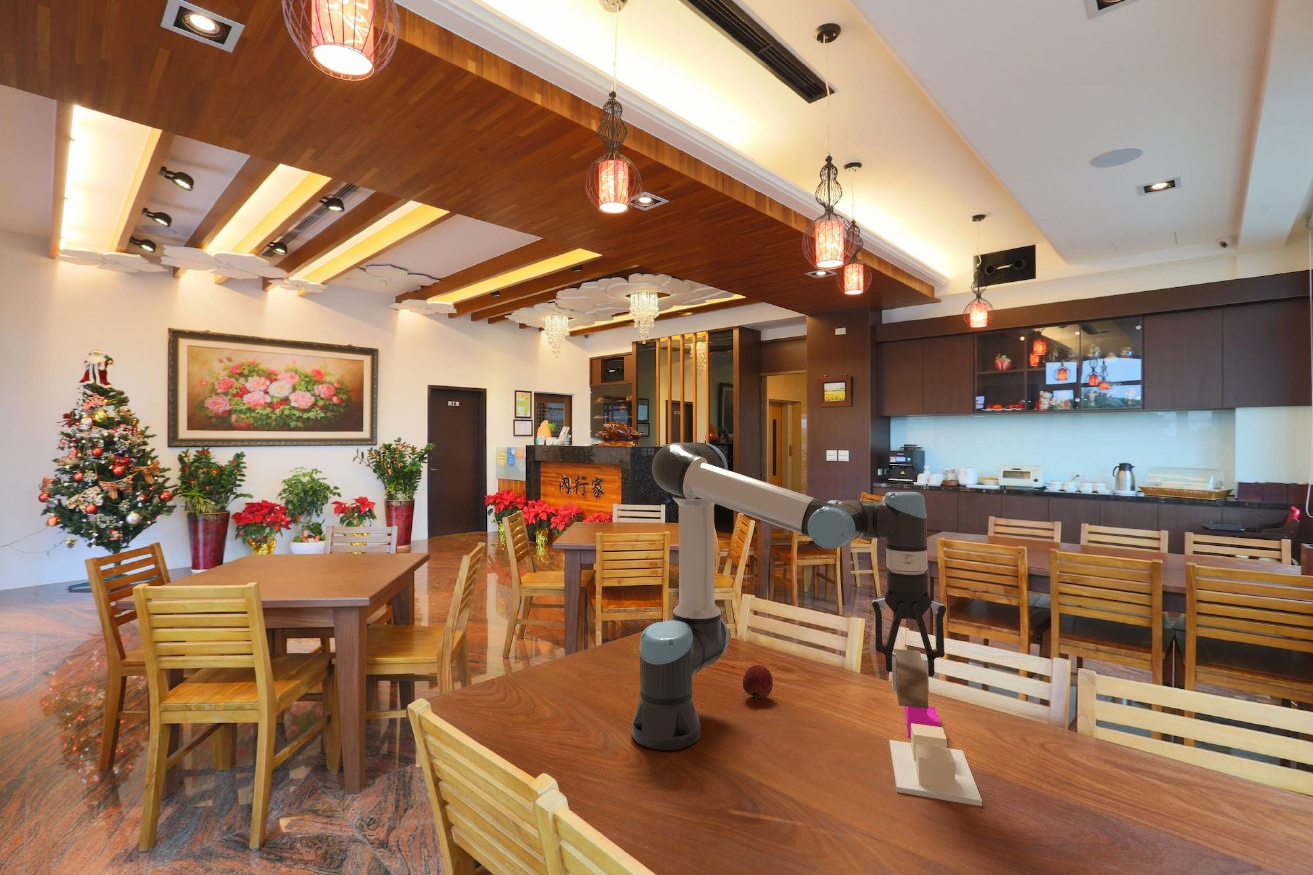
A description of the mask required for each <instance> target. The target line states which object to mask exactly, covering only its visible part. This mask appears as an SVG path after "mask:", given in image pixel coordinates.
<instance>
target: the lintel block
mask: <svg viewBox="0 0 1313 875" xmlns="http://www.w3.org/2000/svg"><path fill="white" fill-rule="evenodd" d="M893 653H895V654H896V684H897V691H895V692H896V697H897V702H898V706H900V707H905V706H906V707H915V708H924V709H928V706H929V694H928V677H929V676H927V673H926V670H925V667H924V664H923V661H922V654H921V652H920V651H919V650H913V649H911V650H910V649H899V648H894V649H893Z"/></svg>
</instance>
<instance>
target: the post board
mask: <svg viewBox="0 0 1313 875" xmlns="http://www.w3.org/2000/svg"><path fill="white" fill-rule="evenodd" d="M947 740H948V739H947V735H946V732H945V731H944V727H941V726H940V727H935V726H928V725H920V724H913V723H911V738H910V742H906V741H901V740H894V739H893V740H892V739H889V749H890V755H891V762H892V769H893V775H894V781H895V782H894V783H895V790H896V793H899V794H904V795H905V794H906V795H911V796H917V797H923V798H930V799H936V800H943V801H948V802H954V803H960V804H966V805H973V806H977V807H978V806H979V807H983V799H982V796H981V795H980V792H979V790H978V786H977V784H976V780H975V779H974V777H973V773H972V771H971V769H970V768H971V767H969V764H968V760H967V758H966V756H965V753H964V751H963V750H962V749H956V748H955V749H954V748H951V747H950V748H948V744H947V742H948V741H947Z"/></svg>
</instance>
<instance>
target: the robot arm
mask: <svg viewBox="0 0 1313 875" xmlns="http://www.w3.org/2000/svg"><path fill="white" fill-rule="evenodd" d="M651 472H652V476H653V479H654V481H655V482H656V484H657V485H658V487H659V488H661V489H662V490H664V491H665V492H668V493H670V494H672V499H673V501H674V502H675V503H677V506H678V574H679V575H678V604H677V605H676V606H675V607H674V608H673V610H672V619H671V620H663V621H657V622H654V623H652V624H649V625H648V626H646V627H645V628H644V630H643V631H642V633H641V635H640V642H639V643H640V644H639V648H638V649H639V650H638V651H639V652H638V653H639V700H638V702H637V703H638V704H637V706H636V710H635V712H634V716H633V719H632V723H631V734H632V738H633V739H634V740H635V742H637V743H638V744H639V745H640V746H641V745H642V746H643V747H646V748H648V749H651V750H658V751H659V750H660V751H676V750H681V749H685V748H688V747H690V746H692V745H694V744H695V743H697V741H698V740H699V739H700V736H701V724H700V719H699V716H698V713H697V709H696V707H695V702H694V700H693V676H694V675H696V674H697V673H699V672H700V671H702V670H703V669H705V668H706V667H708V666H711V665H713V664H714V663H717V662H716V661H718V660H719V659H720V658H721V657H722V656H723V655H724V653H725V652H726V650H727V648H728V645H729V640H730V639H729V638H730V633H729V629H728V626H727V624H726V623H725V622H724V620H723V618H722V610H721V609H720V607H718V606H717V605H716V603H715V600H716V599H715V510H714V509H715V505H718V506H721V507H724V508H725V509H729V510H731V511H732V510H733V511H736V512H737V513H740V514H744V515H746V516H749V517H752V518H754V519H758V520H760V521H764V522H766V523H769V524H772V525H774V526H777V527H779V528H783V529H785V530H788V531H791V532H794V533H796V534H800V535H801V536H805V537H808V538H810V539H811V541H813V542H814V543H815V544H816V546H817V545H818V547H820V548H822V549H828V550H829V549H838V548H842V547H844V546H846V545H847V544H849V543H850V542H852V541H854V540H856V539H860V538H861V539H862V538H863V539H879V540H882V539H883V540H885V554H886V555H885V556H886V558H885V559H886V561H885V562H886V563H885V565H886V567H887V569H888V570H887V571H886V593H885V595H884V597H883V598H879V599H876V598H873V599H872V600H871V605H872V609H873V612H874V624H875V626H874V627H875V628H874V634H875V636H874V637H875V638H874V639H875V646H874V647H875V651H876V652H878V653H881V654H884V657H885V670H886V672H888V673H889V672H890V673H891V687H892V691H894V692H896V691H897V684H896V654H895V653H893V649H895V645H896V641H897V637H898V632H899V629H900V624H901V623H902V620H906V619H910V620H914V621H916V624H917V627H918V630H919V634H920V637H921V641H922V643H923V648H924V649H925V653H926V655H923V654H921V658H922V661H923V664H924V667H925V670H926V673H927V676H928V695H930V683H929V681H930V680H929V676H931V677H934V675H935V660H936V659H937V658H944V657H945V654H946V653H945V634H944V631H945V630H944V616H945V614H946V611H947V608H946V606H945V604H944V603H942V602H936V601H934V600H932V598H931V597H930V593H929V574H928V573H927V572H926V571H928V569H929V567H928V514H927V505H926V499H925V498H926V497H925V496H924V495H923V494H922V493H920V492H918V491H916V492H915V491H888V492H886V493H885V494H884V499H883V500H881V501H870V500H869V501H868V500H866V501H865V500H848V499H835V500H834V499H833V500H832V499H830V500H829V501H825V500H821V499H818V498H816V497H812V496H809V495H806V494H803V493H800V492H797V491H793V490H790V489H787V488H784V487H781V486H778V485H774V484H772V483H769V482H766V481H763V480H759V479H756V478H753V477H749V476H747V475H743V474H741V473H737V472H734V471H731V470H729V467H728V461H727V459H726V456H725V455H724V453H723V452H722V451H721V450H720V449H719V448H718V447H717V446H715V445H713V444H710V443H706V442H700V441H698V442H697V441H696V442H672V443H669V444H665V445H664V446H663V447H661V448H660V449H659V450H658V451H657V452H656V454H655V456H654V457H653V459H652V464H651ZM885 605H887V606H888V607H889V609H890V610H891V612H892V613H893V614H892V620H891V623H890V627H889V632H888V636H887V639H886V643H885V644H883V614H882V611H883V612H884V610H885ZM929 608H931V610H932V613H933V614H934V635H935V648H932V644H931V640H930V637H929V634H928V631H927V627H926V624H925V621H924V615H925V613H926V612H927V611H928V610H929Z"/></svg>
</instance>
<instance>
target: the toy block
mask: <svg viewBox="0 0 1313 875" xmlns="http://www.w3.org/2000/svg"><path fill="white" fill-rule="evenodd" d="M904 709H905V718H906V719H905V720H906V728H907V737H908V738H910V739H911V723H913V724H920V725H928V726H935V727H941V721H940V717H939V714H938V713H937V710H936V709H937V708H936V706H932V705H928V709H924V708H915V707H906V706H904Z"/></svg>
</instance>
